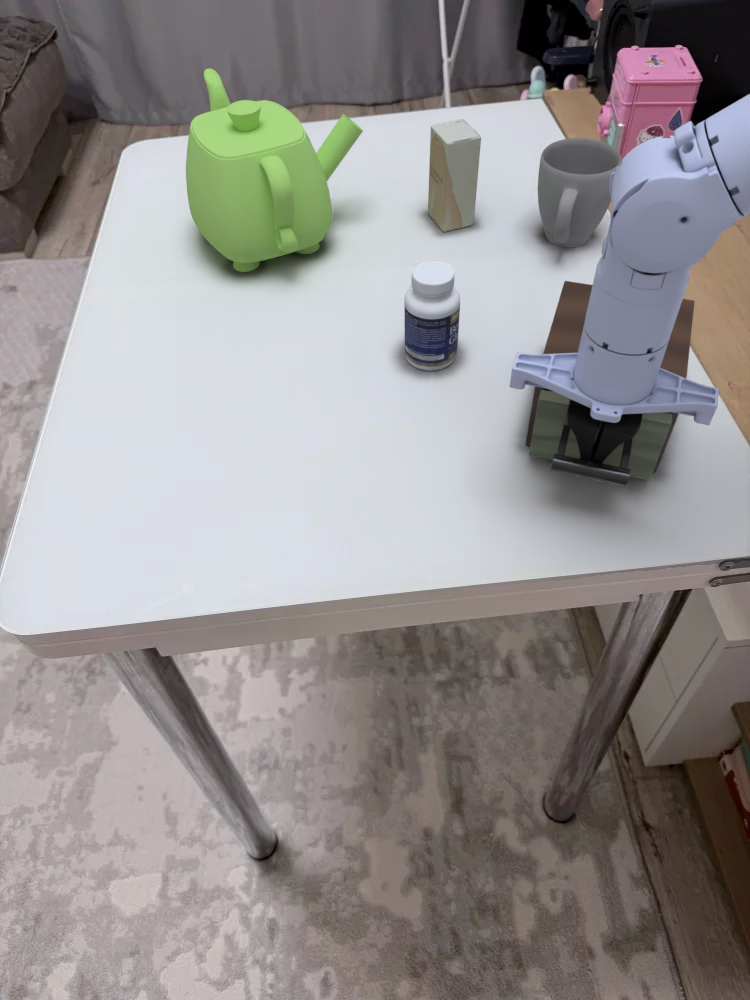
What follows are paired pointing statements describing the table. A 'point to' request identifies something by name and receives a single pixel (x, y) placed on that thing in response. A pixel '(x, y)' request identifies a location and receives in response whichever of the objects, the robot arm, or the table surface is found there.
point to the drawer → (562, 447)
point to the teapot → (260, 178)
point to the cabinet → (569, 334)
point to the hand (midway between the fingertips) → (589, 463)
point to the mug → (575, 188)
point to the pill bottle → (431, 316)
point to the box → (453, 174)
